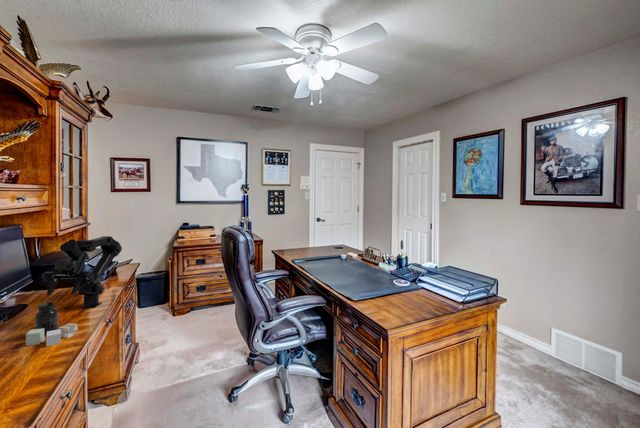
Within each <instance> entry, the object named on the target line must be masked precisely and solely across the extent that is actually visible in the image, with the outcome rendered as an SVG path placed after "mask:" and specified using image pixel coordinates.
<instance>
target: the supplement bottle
mask: <svg viewBox="0 0 640 428" xmlns="http://www.w3.org/2000/svg"><path fill="white" fill-rule="evenodd" d="M37 310H38V311H37V312H36V313H35V315H34V320H35V321H34V322H35V327H34V328H35V329H43V328H44V337H46V335H47V331H52V330H58V329H59V311H58V309H57V308H55V302H53V301H51V302H49V301H48V302H44V303H40V304H38V307H37Z"/></svg>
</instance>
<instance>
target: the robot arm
mask: <svg viewBox="0 0 640 428" xmlns="http://www.w3.org/2000/svg"><path fill="white" fill-rule="evenodd" d="M98 247H100V249H101V252H102V255H101V257H100V258H99V260H98V261H97V263H96V264H95V266H94V267H93V269H92V271H89V270H85V271H84V269H85V268H84V265H85V263H86V261H88V260H90V256H89V255H88V253H89V252H90V253H91V252H94V251H96V250H97V248H98ZM59 249H60V251H61V252H62V253H63V254H64V255H65V256H66V257H67V258H69V260H68V261H66V262H65V261H59V262H57V261H56V263H55V266H54V269H53V270H54V271H46V272H43V273H42V274H41V279H42V280H44V281H45V282H46V283H47V293H46V295H47V296H51V295H52V293H53V292H54V291H55V289H56V288H57V287H58V286H59V282H60V280H75V281H76V282H75V284H74V286H73V287H72V290H71V292H70V295H71V296H74V295H75V294H76V293H78V295H79V296H83V305H81V306H80V308H81V309H82V308H85V309H87V308H89V309H93V308H96V307H98V306H100V305H101V304H103V302H100V301H99V300H100V295H102V294H103V293H104V287H103V285H102V282H101V278H102V276H103V274H104V273H105V271H106V270H107V268H108V267H109V264H110V263H111V261H112V259H114V258H117V257H118V256H119V255H120V253H121V252H122V250H123V248H122V245H121V243H120V242H119V241H117V240H116V239H114V238H113V236H109V235H108V236H107V235H106V236H104V235H103V236H100V237H97V238H93V239H78V240H75V239H74V238H71V239H70V238H69V240H67V241H66V242H63V243H62V244H60V246H59ZM87 252H88V253H87ZM55 271H59V272H58V273H60V274H58V273H56V272H55Z"/></svg>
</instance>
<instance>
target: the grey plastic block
mask: <svg viewBox="0 0 640 428" xmlns="http://www.w3.org/2000/svg"><path fill="white" fill-rule="evenodd" d="M45 339H46V341H45V342H46V348H47V347H50V346H51V347H53V346H55V345H60V344H61V343H62V337H61V329H59V328H58V330H52V331H47V335H46V336H45Z"/></svg>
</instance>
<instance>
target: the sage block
mask: <svg viewBox="0 0 640 428" xmlns="http://www.w3.org/2000/svg"><path fill="white" fill-rule="evenodd" d="M44 341H45V336H44V328H43V329H36V328H35V329H30V330H29V331H28V332H27V333H26V334H25V345H26V347H28V346H29V347H30V346H37V345H41V344H42V343H43V342H44ZM41 342H42V343H41ZM40 343H41V344H40ZM36 344H37V345H36Z"/></svg>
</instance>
